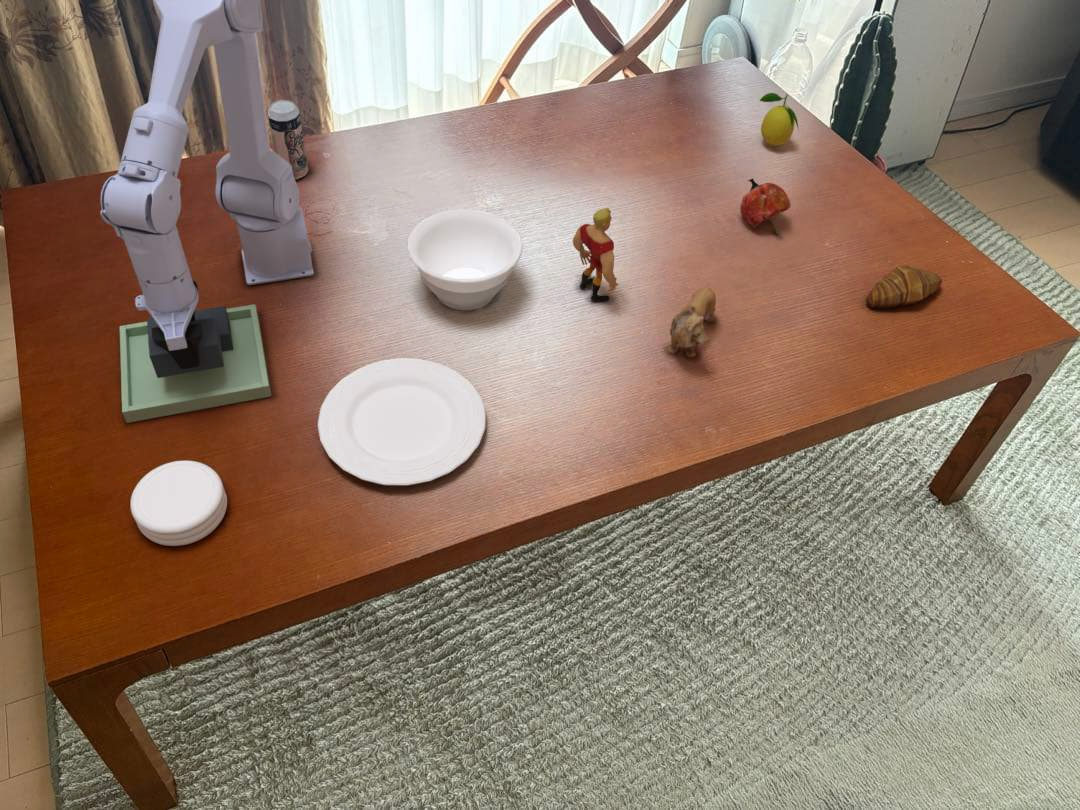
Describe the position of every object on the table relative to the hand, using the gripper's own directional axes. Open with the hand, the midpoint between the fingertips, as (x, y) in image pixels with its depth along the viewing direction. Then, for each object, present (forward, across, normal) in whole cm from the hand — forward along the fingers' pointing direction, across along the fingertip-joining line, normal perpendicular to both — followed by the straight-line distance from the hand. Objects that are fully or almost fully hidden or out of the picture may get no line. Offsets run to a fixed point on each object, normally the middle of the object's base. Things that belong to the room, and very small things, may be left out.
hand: (188, 350), depth 117 cm
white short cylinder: (+5, +21, -3) cm, 22 cm away
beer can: (+5, -42, +18) cm, 46 cm away
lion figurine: (+5, +10, +66) cm, 67 cm away
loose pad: (+1, 0, 0) cm, 1 cm away
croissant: (+5, +9, +101) cm, 102 cm away
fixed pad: (+4, -6, 0) cm, 7 cm away
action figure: (+5, -3, +56) cm, 56 cm away
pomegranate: (+5, -12, +88) cm, 89 cm away
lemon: (+5, -32, +100) cm, 105 cm away
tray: (+5, -2, 0) cm, 5 cm away
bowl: (+5, -8, +38) cm, 39 cm away
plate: (+5, +15, +24) cm, 29 cm away
